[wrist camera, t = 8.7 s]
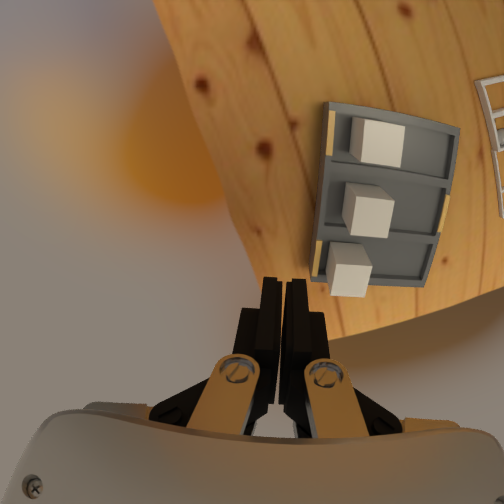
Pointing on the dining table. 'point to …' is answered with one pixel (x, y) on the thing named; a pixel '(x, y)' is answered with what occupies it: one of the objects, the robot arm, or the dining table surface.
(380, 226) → the white block
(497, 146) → the floor plan model
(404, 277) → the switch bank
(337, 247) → the tab
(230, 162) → the dining table surface
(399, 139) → the white rectangular block
